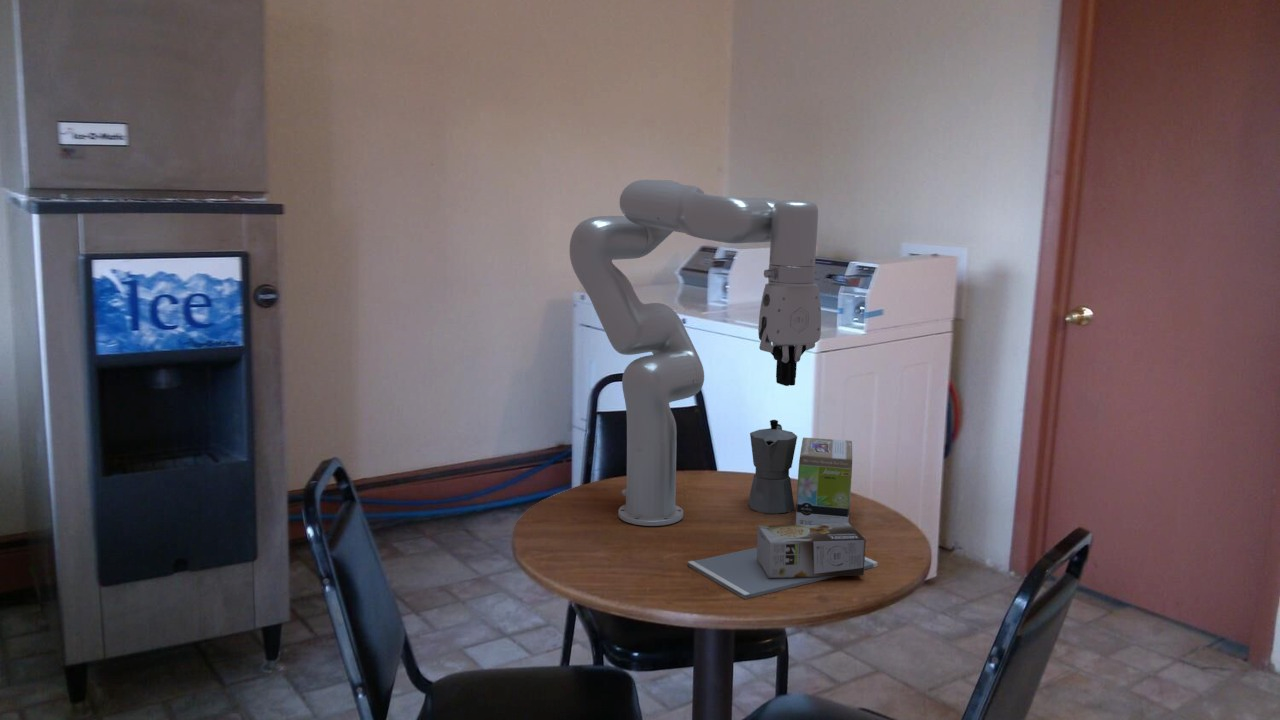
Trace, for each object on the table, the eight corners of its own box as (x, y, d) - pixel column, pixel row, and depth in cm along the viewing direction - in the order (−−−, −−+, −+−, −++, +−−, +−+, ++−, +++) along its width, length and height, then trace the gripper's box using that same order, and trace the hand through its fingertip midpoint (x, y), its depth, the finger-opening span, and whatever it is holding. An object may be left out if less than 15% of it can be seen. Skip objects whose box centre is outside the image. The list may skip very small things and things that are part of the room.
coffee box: (768, 580, 159) (865, 577, 161) (769, 542, 158) (866, 539, 160) (756, 559, 168) (848, 556, 170) (757, 523, 167) (849, 521, 169)
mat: (687, 565, 167) (687, 561, 166) (814, 537, 181) (815, 534, 181) (744, 599, 153) (744, 594, 153) (877, 566, 167) (877, 562, 167)
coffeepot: (790, 519, 191) (794, 429, 188) (742, 515, 193) (745, 425, 190) (799, 496, 206) (802, 412, 203) (754, 492, 208) (756, 409, 205)
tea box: (849, 535, 183) (853, 458, 180) (794, 531, 185) (797, 454, 182) (849, 510, 197) (852, 438, 195) (798, 506, 199) (801, 435, 197)
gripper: (767, 279, 157) (761, 392, 160) (841, 277, 164) (834, 385, 167) (741, 274, 163) (736, 383, 167) (813, 272, 170) (807, 377, 174)
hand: (785, 384), depth 167 cm, fingers closed
